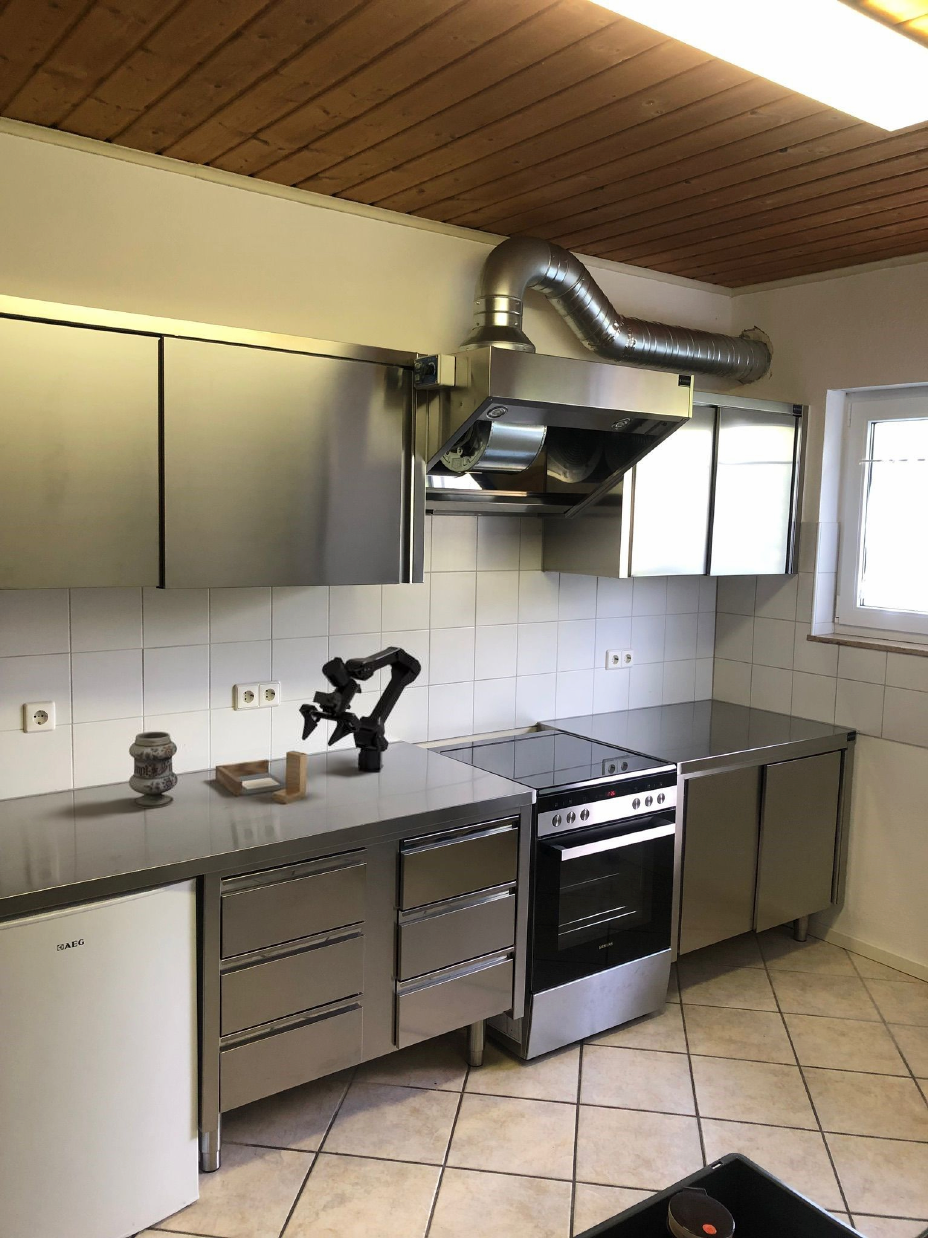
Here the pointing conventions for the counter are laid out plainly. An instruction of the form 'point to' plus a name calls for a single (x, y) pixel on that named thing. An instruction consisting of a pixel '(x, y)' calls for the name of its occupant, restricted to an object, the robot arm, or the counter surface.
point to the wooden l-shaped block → (293, 778)
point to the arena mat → (260, 784)
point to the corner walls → (239, 773)
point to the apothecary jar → (153, 769)
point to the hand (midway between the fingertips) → (315, 742)
